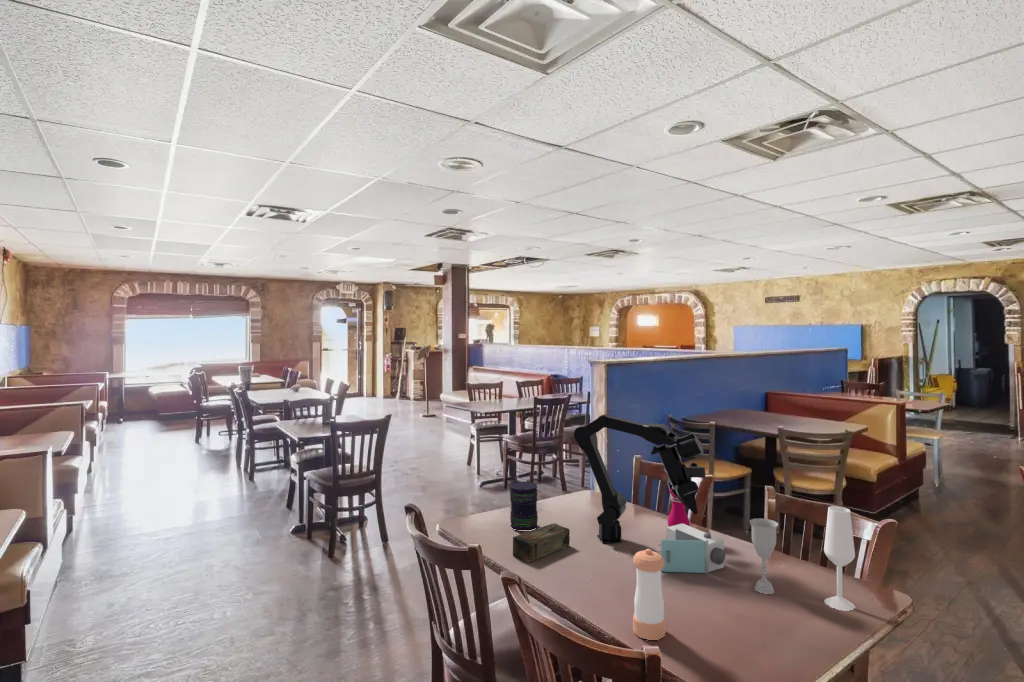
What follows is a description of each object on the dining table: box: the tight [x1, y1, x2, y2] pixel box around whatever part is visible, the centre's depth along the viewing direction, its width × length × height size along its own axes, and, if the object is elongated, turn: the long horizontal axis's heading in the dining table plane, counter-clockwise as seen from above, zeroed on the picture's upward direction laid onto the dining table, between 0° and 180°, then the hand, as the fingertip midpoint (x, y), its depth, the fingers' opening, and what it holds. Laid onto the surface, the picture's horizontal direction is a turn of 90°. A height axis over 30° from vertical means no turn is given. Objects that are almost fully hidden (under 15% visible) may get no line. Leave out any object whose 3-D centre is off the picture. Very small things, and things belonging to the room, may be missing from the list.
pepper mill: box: [667, 488, 691, 527], centre depth 182 cm, size 7×7×20 cm
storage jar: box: [509, 481, 539, 530], centre depth 193 cm, size 10×10×15 cm
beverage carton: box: [512, 522, 571, 564], centre depth 171 cm, size 8×19×7 cm, turn 133°
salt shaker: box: [632, 548, 667, 639], centre depth 124 cm, size 7×7×19 cm
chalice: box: [749, 517, 779, 595], centre depth 143 cm, size 7×7×18 cm
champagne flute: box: [823, 505, 856, 612], centre depth 135 cm, size 7×7×24 cm
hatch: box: [660, 538, 706, 574], centre depth 154 cm, size 12×2×9 cm, turn 83°
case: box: [665, 523, 726, 574], centre depth 162 cm, size 18×7×9 cm, turn 28°
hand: (692, 511), depth 167 cm, fingers open, 9 cm apart
